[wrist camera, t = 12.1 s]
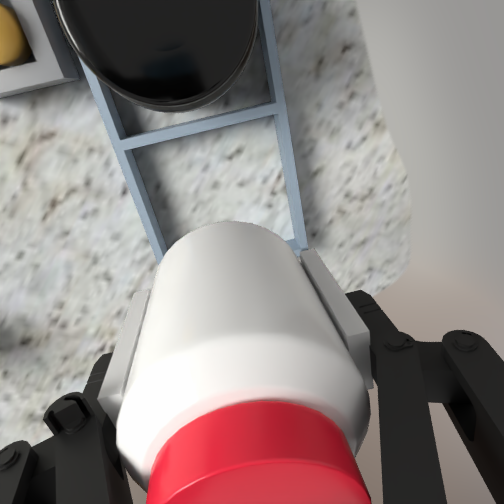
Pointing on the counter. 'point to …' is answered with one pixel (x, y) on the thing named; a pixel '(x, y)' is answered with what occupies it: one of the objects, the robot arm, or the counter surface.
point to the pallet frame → (275, 107)
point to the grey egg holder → (38, 51)
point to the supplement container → (163, 47)
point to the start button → (12, 39)
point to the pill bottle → (241, 380)
